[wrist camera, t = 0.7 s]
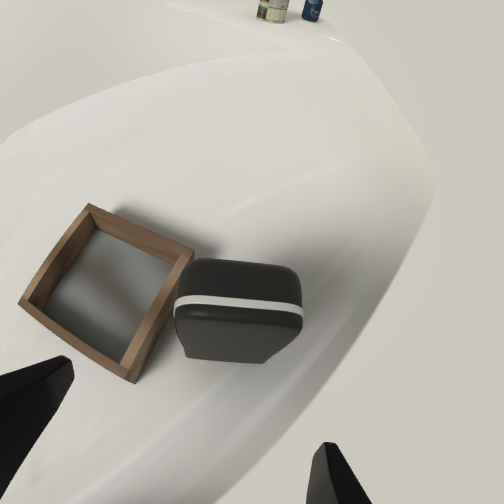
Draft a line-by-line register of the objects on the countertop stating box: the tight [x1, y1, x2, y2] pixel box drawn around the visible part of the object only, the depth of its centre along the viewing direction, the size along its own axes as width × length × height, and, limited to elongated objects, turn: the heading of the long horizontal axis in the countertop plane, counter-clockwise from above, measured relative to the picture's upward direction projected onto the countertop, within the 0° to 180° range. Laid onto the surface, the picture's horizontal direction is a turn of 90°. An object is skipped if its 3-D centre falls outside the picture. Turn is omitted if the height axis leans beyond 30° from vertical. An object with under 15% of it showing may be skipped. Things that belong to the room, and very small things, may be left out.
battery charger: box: [173, 258, 304, 364], centre depth 19 cm, size 7×4×11 cm, turn 89°
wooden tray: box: [18, 203, 194, 384], centre depth 22 cm, size 12×12×4 cm
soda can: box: [302, 0, 323, 22], centre depth 86 cm, size 7×7×12 cm
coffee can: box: [256, 0, 289, 23], centre depth 74 cm, size 10×10×14 cm
